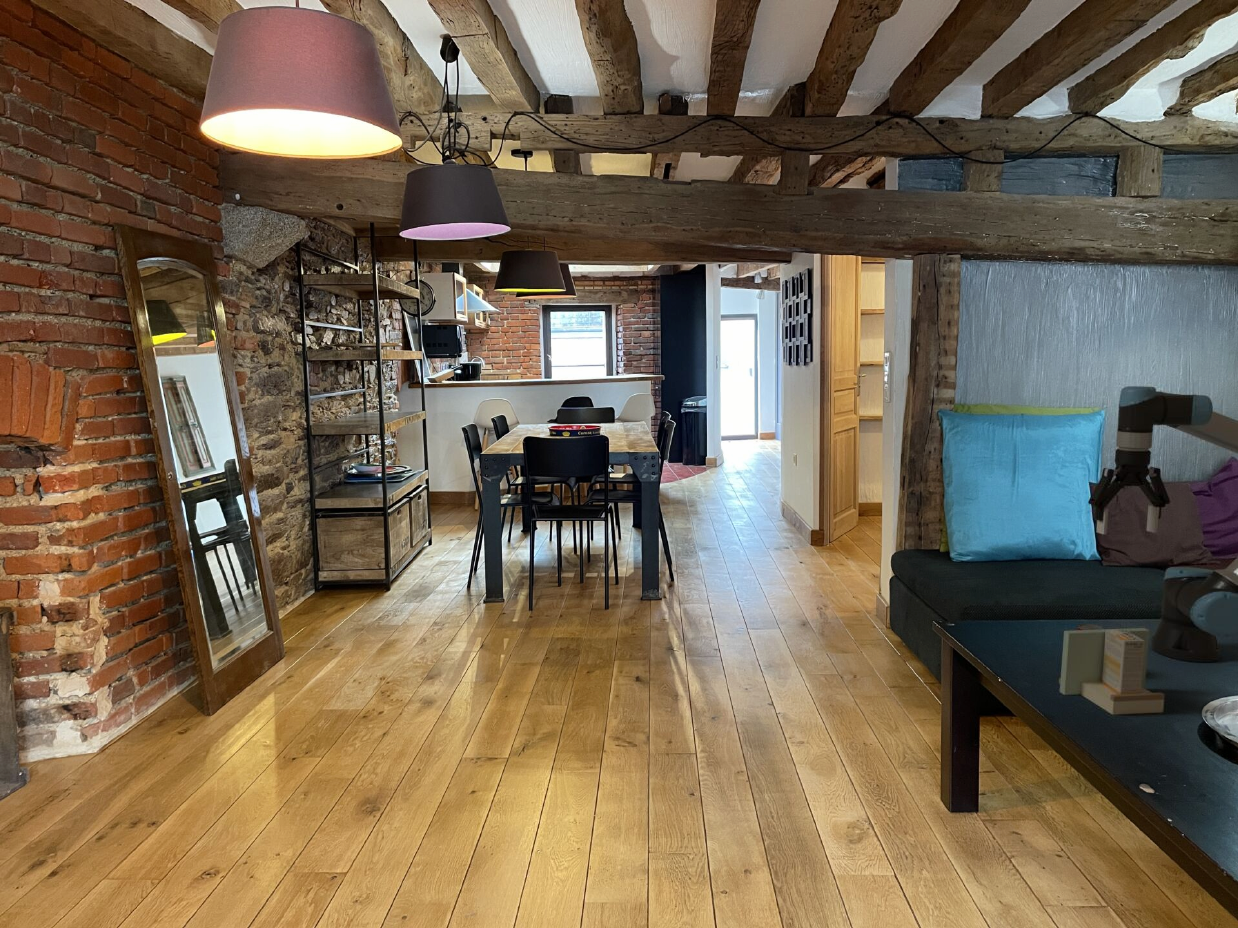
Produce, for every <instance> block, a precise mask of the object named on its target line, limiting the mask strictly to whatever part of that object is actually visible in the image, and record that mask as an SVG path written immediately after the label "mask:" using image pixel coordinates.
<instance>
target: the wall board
mask: <svg viewBox="0 0 1238 928" xmlns="http://www.w3.org/2000/svg"><path fill="white" fill-rule="evenodd" d="M1121 629H1122V630H1127V631H1129V632H1130V633H1132V634H1134V635H1135V636H1137V637H1139V638H1140V639H1142V640H1144V641H1145V647H1144V659H1143V671H1142V683H1141V693H1139V694H1117V693H1116V692H1114V691H1113V690H1112V689H1110V688H1109V687H1108V686H1106V685H1105V684H1103V683H1102V673H1103V660H1104V646H1105V633H1106V629H1105V628H1103V630H1077V629H1076V630H1064V631H1063V641H1062V642H1063V645H1062V655H1061V671H1060V678H1058V684H1059V685H1060V686H1059V693H1061V694H1062V695H1064V696H1072V695H1073V696H1074V695H1081V696H1082V697H1084V698H1086V699H1087V700H1089V701H1091V702H1092V703H1094V704H1095V705H1097V706H1099V708H1102V709H1103V710H1104V711H1106V712H1107V713H1109V714H1111V715H1112V716H1113V715H1129V714H1130V715H1133V714H1134V715H1135V714H1152V713H1153V714H1154V713H1155V714H1156V713H1164V706H1165V705H1164V704H1165V697H1166V696H1165V693H1163V692H1151V691H1150V690H1148V689H1146V688H1145V687H1146V679H1147V678H1146V675H1147V666H1148V665H1147V664H1148V653H1149V645H1150V644H1149V641H1150V631H1151V630H1149V629H1147V628H1145V627H1140V628H1139V627H1138V628H1137V627H1136V628H1133V627H1132V628H1121Z"/></svg>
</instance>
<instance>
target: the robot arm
mask: <svg viewBox="0 0 1238 928" xmlns="http://www.w3.org/2000/svg"><path fill="white" fill-rule="evenodd" d="M1213 406H1214V405H1213V402H1212V400H1211V398H1210V397H1209V396H1208V395H1206V394H1205V395H1204V394H1202V395H1201V394H1181V393H1171V392H1164V391H1157V389H1156V387H1154V386H1137V385H1136V386H1135V385H1133V386H1132V385H1131V386H1125V387H1123V388H1122V389H1121V391H1120V395H1119V401H1118V416H1117V428H1116V429H1117V430H1116V442H1115V443H1116V444H1115V445H1116V447H1117V449H1116V450H1115V455H1114V463H1115V467H1114V469H1113V468H1107V467H1104V468H1103V469H1102V473H1101V477H1100V479H1099V481H1098V483H1097V484H1096V486H1095V489H1094V490H1093V492H1092V494H1091V496H1090V497H1089V499H1088V502H1087V503H1088V505H1091V506H1093V507H1095V514H1094V519H1095V521H1097V522H1096V533H1098V534H1101V535H1107V533H1108V521H1109V518H1108V517H1109V508H1107V506H1108V505H1109V503H1110V502H1111V501H1112V500H1113V499H1114V498H1115V496H1117V494H1118V493H1119V492H1120V491H1121V489H1124V488H1125V487H1133V486H1134V487H1138V488H1139V489H1140V490H1141V491H1142V493H1144V495H1145V497H1146V498H1147V499H1148V500H1149V503H1151V505H1148V508H1147V509H1148V510H1147V520H1146V531H1147V532H1150V533H1153V534H1158V527H1159V520H1161V518H1162V509H1163V508H1165V507H1166V505H1169V504H1171V500H1170V497H1169V495H1168V493H1167V489H1166V487H1165V484H1164V482H1163V479H1162V475H1161V474H1162V472H1161V471H1162V470H1161V468H1159V467H1154V466H1150V465H1151V459H1152V451H1151V450H1150V449H1152V446H1153V434H1154V426H1166V427H1170V428H1173V429H1175V430H1178V431H1180V432H1183V433H1185V434H1188V435H1190V436H1192V437H1195V438H1198V439H1201V440H1203V441H1205V442H1207V443H1210V444H1213V445H1216V446H1218V447H1219V448H1223V449H1225V450H1228V451H1230V452H1232V453H1234V454H1237V455H1238V419H1237V420H1236V419H1234V418H1232V417H1229V416H1226V415H1224V414H1221V413H1219V412H1216V411H1214V407H1213ZM1149 466H1150V467H1149ZM1147 477H1148V478H1149V480H1150V482H1151V483H1150V482H1149V480H1148V479H1147ZM1151 485H1152V486H1151ZM1162 590H1163V591H1162V602H1161V613H1160V621H1159V623H1158V625H1157V627H1156V630H1155V632H1154V635H1152V637H1151V641H1150V648H1151V650H1153V651H1155V652H1156V653H1157V654H1160V655H1162V656H1165V657H1168V658H1172V659H1176V660H1180V661H1185V662H1194V663H1211V662H1216V661H1219V658H1220V647H1219V644H1218V640H1217V637H1222V638H1227V637H1228V638H1229V637H1230V638H1231V637H1235V636H1238V556H1237V557H1236V558H1235V559H1234V560H1233V561H1232V562H1231V563H1230V564H1229V565H1228V566H1227V567H1226V568H1224V569H1214V570H1213V569H1208V568H1200V567H1192V566H1191V567H1188V566H1171V567H1169V568H1166V570H1165V573H1164V577H1163V589H1162Z"/></svg>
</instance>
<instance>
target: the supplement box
mask: <svg viewBox="0 0 1238 928" xmlns="http://www.w3.org/2000/svg"><path fill="white" fill-rule="evenodd" d="M1122 629H1123V628H1112V629H1111V628H1110V629H1109V628H1107V629H1106V633H1105V646H1104V660H1103V673H1102V683H1103V684H1105V685H1106V686H1108V687H1109V688H1110V689H1112V690H1113V691H1114V692H1116V693H1117V694H1139V693H1141V683H1142V671H1143V659H1144V647H1145V641H1144V640H1142V639H1140V638H1139V637H1137V636H1135V635H1134V634H1132V633H1130V632H1129V631H1127V630H1122Z"/></svg>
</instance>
